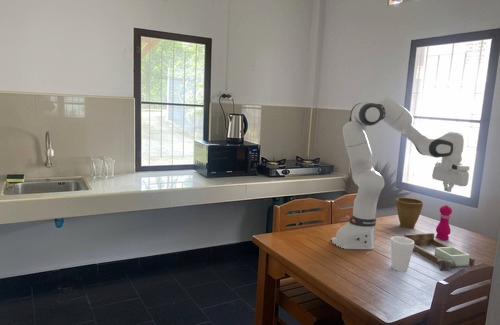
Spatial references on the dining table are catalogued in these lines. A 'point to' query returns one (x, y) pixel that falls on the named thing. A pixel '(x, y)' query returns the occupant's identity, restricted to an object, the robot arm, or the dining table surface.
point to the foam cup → (401, 252)
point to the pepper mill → (444, 223)
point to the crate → (453, 255)
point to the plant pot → (408, 211)
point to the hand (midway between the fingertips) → (447, 191)
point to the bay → (429, 240)
